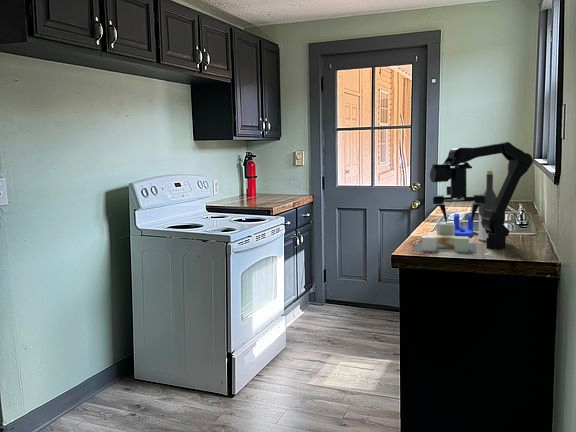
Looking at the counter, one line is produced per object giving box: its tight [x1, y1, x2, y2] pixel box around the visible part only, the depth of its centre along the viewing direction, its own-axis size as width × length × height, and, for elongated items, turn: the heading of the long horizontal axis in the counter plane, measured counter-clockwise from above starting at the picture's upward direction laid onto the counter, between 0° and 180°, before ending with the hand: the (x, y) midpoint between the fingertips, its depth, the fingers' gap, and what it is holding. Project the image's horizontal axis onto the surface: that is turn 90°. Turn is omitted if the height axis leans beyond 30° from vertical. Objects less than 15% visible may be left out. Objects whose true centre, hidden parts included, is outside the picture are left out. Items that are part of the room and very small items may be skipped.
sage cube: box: [455, 236, 470, 253], centre depth 209 cm, size 5×5×5 cm
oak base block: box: [436, 234, 455, 248], centre depth 218 cm, size 7×7×4 cm
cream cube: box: [421, 235, 437, 252], centre depth 212 cm, size 5×5×5 cm
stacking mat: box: [413, 223, 478, 254], centre depth 216 cm, size 23×20×9 cm
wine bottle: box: [478, 170, 498, 243], centre depth 227 cm, size 8×8×30 cm
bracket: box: [453, 213, 474, 238], centre depth 251 cm, size 18×8×9 cm, turn 159°
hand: (458, 221), depth 209 cm, fingers open, 9 cm apart
